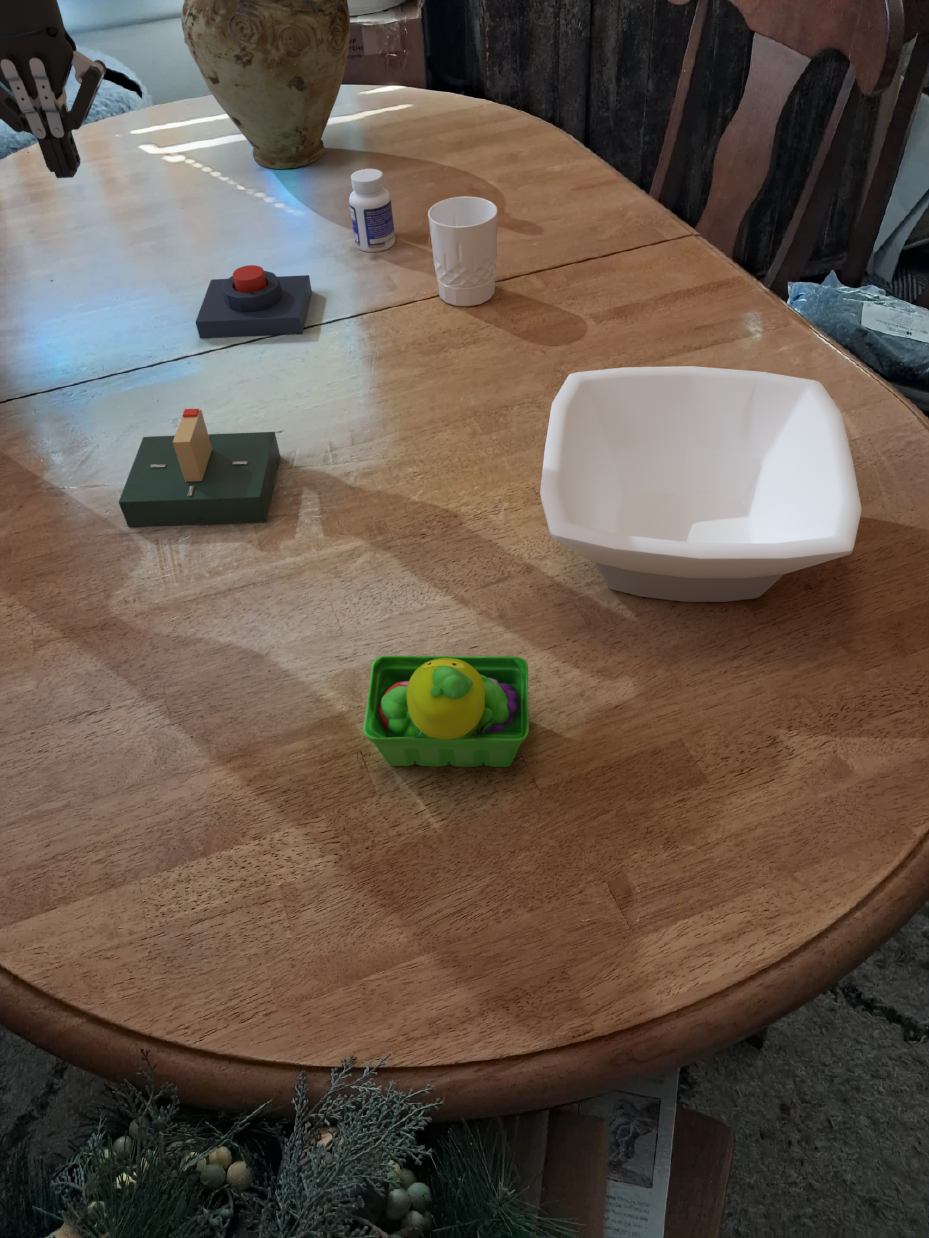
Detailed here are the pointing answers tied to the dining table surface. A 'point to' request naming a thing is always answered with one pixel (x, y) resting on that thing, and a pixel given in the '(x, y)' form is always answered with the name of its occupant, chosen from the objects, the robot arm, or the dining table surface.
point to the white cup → (464, 249)
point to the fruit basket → (448, 709)
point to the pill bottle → (371, 211)
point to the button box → (255, 308)
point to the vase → (272, 69)
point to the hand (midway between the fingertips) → (67, 174)
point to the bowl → (698, 479)
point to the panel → (202, 482)
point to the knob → (192, 445)
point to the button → (249, 279)
